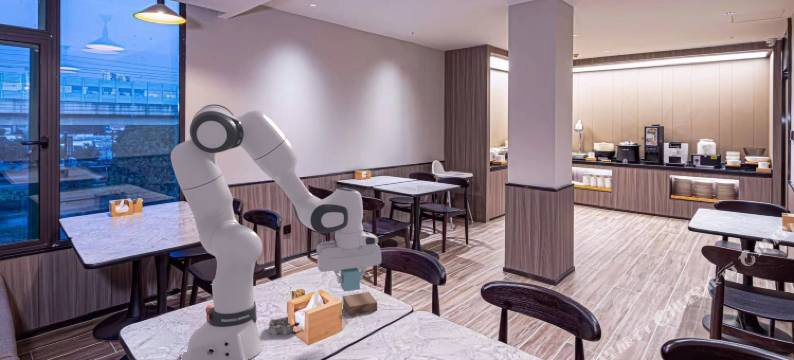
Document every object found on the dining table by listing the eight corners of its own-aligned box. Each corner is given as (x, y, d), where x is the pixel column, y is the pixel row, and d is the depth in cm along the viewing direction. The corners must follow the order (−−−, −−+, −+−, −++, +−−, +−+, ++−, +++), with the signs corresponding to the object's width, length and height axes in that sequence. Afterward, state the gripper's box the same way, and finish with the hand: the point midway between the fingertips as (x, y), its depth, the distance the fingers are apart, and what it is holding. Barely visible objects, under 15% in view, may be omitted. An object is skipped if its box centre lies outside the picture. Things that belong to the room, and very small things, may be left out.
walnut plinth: (349, 314, 153) (349, 306, 152) (343, 303, 162) (342, 296, 162) (377, 310, 156) (377, 302, 156) (369, 299, 165) (368, 292, 165)
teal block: (344, 291, 137) (344, 272, 136) (340, 285, 141) (340, 267, 140) (359, 289, 138) (359, 271, 137) (355, 283, 143) (355, 266, 142)
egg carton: (304, 323, 147) (303, 312, 147) (301, 334, 140) (300, 322, 139) (271, 325, 146) (271, 313, 146) (267, 336, 139) (266, 324, 138)
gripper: (318, 244, 131) (319, 289, 133) (382, 238, 138) (383, 280, 140) (314, 239, 137) (315, 282, 139) (376, 233, 144) (377, 274, 146)
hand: (350, 281), depth 139 cm, fingers closed on teal block, 5 cm apart
